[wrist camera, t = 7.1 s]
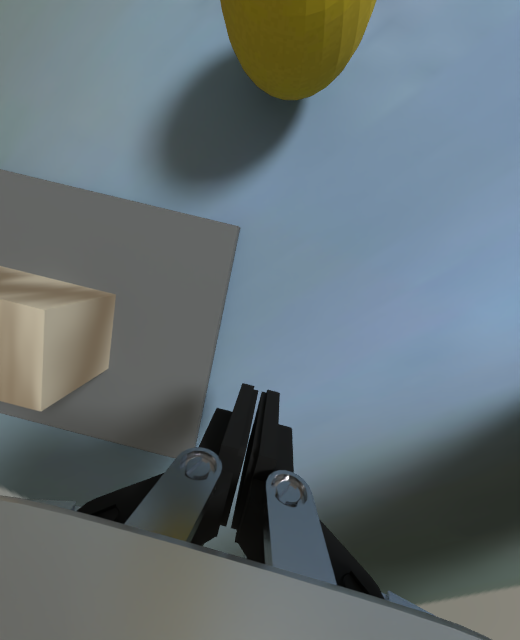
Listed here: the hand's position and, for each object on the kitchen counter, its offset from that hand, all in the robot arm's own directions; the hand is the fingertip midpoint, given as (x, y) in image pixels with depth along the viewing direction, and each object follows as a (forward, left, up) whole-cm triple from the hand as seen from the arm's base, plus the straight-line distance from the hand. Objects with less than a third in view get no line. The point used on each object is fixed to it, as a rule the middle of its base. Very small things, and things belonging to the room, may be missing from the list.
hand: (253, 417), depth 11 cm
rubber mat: (+13, 0, -6) cm, 14 cm away
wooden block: (+10, 0, -3) cm, 10 cm away
